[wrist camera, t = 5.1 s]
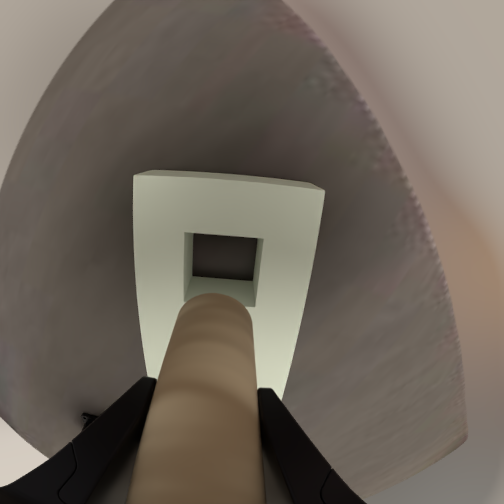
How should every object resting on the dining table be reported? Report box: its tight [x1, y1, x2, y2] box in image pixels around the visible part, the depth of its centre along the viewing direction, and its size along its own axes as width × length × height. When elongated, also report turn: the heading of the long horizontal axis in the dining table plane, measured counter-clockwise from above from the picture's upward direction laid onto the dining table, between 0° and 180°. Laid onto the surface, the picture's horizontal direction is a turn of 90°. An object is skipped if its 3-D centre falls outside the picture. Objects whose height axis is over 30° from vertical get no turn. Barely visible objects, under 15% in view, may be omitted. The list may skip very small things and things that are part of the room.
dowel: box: [126, 293, 267, 504], centre depth 6 cm, size 3×3×10 cm
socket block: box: [133, 170, 325, 400], centre depth 19 cm, size 20×10×4 cm, turn 174°
